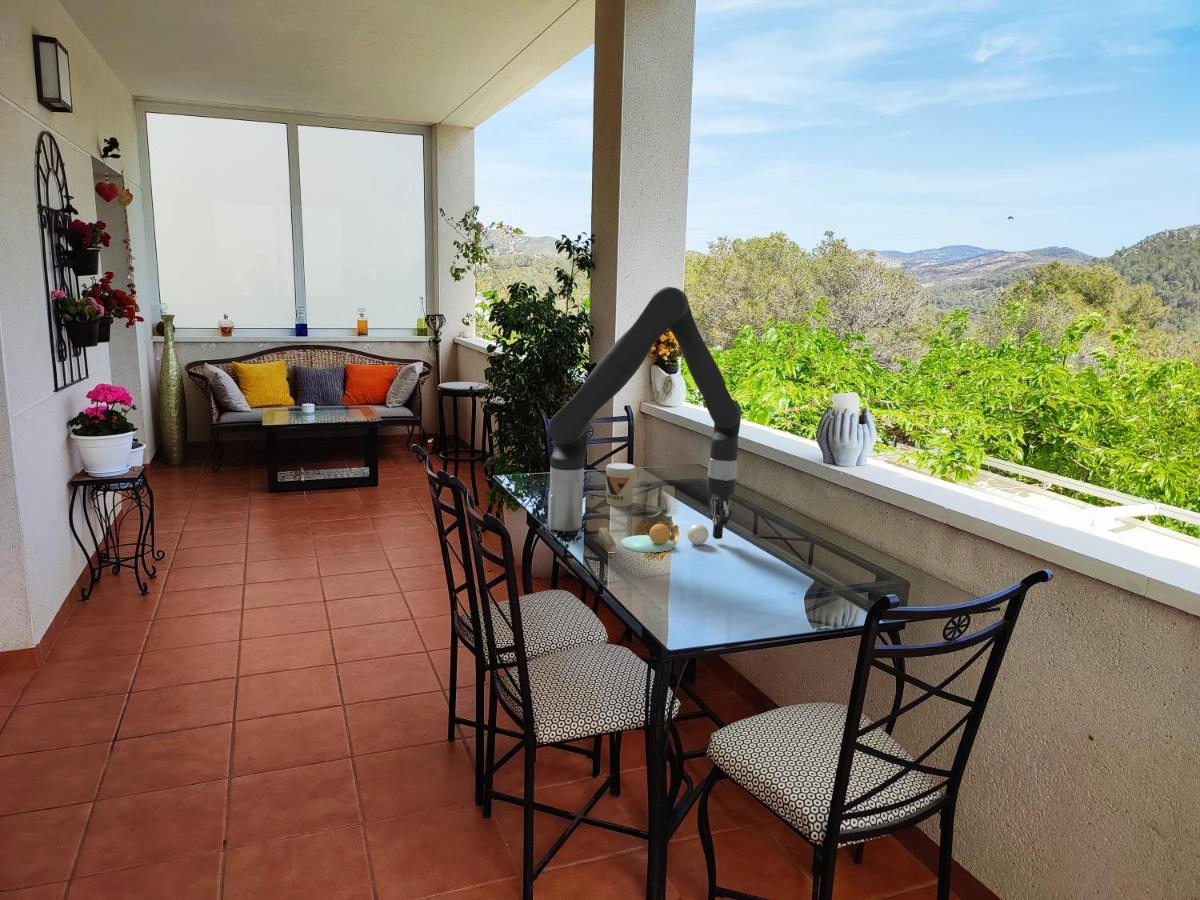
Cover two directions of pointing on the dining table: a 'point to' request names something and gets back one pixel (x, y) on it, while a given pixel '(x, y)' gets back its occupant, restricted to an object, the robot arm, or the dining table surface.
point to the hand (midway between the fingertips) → (717, 537)
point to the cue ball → (697, 534)
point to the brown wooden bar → (607, 540)
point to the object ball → (659, 534)
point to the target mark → (645, 544)
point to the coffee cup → (620, 483)
